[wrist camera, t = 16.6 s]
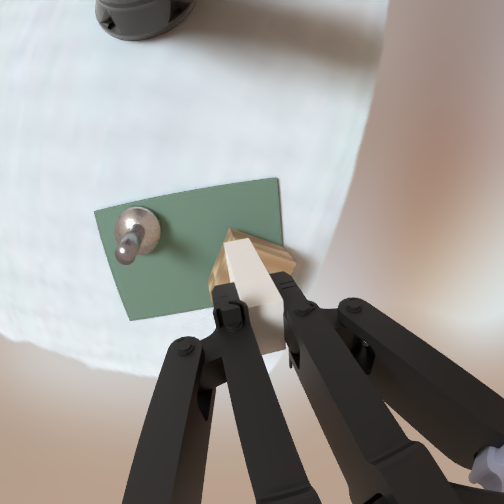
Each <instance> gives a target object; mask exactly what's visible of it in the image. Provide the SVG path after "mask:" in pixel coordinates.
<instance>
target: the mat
mask: <svg viewBox="0 0 504 504" xmlns="http://www.w3.org/2000/svg"><path fill="white" fill-rule="evenodd" d="M135 205H141V206H146V207H148V208H150V209H152V210H153V211H154V212H155V213H156V214H157V216H158V217H159V219H160V222H161V235H160V239H159V242H158V244H157V245H156V247H155V248H154V249H153V250H152V251H150V252H149V253H147V254H144V255H137V256H136V258H135V260H134V262H133V263H132V264H130V265H123V264H120V263H119V262H118V261H117V260H116V258H115V250H116V248H117V247H118V244H117V242H116V240H115V237H114V225H115V222H116V220H117V218H118V217H119V216H120V215H121V213H122V212H123V211H124V210H126V209H127V208H129V207H131V206H135ZM94 214H95V218H96V222H97V225H98V229H99V233H100V236H101V240H102V243H103V247H104V250H105V253H106V256H107V260H108V263H109V266H110V269H111V272H112V275H113V278H114V280H115V283H116V286H117V289H118V292H119V294H120V297H121V300H122V302H123V305H124V307H125V310H126V312H127V315H128V317H129V320H130V321H133V320H139V319H146V318H152V317H158V316H164V315H170V314H176V313H182V312H188V311H193V310H199V309H204V308H210V307H214V305H213V302H211V299H210V292H209V286H208V279H209V276H210V274H211V271H212V269H213V266H214V264H215V261H216V259H217V257H218V254H219V252H220V249H221V247H222V244H223V242H224V240H225V237H226V235H227V232H228V230H229V228H232V229H234V230H237V231H240V232H243V233H246V234H249V235H252V236H255V237H257V238H260V239H263V240H266V241H268V242H271V243H274V244H277V245H280V246H282V237H281V223H280V209H279V196H278V184H277V178H268V179H260V180H253V181H246V182H239V183H232V184H226V185H219V186H213V187H207V188H201V189H195V190H190V191H184V192H179V193H174V194H169V195H164V196H159V197H154V198H149V199H144V200H140V201H135V202H131V203H126V204H122V205H118V206H113V207H109V208H105V209H101V210H97V211H94Z"/></svg>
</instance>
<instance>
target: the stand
mask: <svg viewBox="0 0 504 504" xmlns="http://www.w3.org/2000/svg"><path fill="white" fill-rule="evenodd" d="M160 235H161V222H160V219H159V217H158V216H157V214H156V213H155V212H154V211H153V210H152V209H150V208H148V207H146V206H141V205H135V206H131V207H129V208H127V209H126V210H124V211H123V212H122V213H121V215H120V216H119V217H118V218H117V220H116V222H115V225H114V237H115V240H116V242H117V244H118V247H117V248H116V250H115V258H116V260H117V261H118V262H119V263H120V264H123V265H130V264H132V263H133V262H134V260H135V258H136V256H137V255H144V254H147V253H149V252H150V251H152V250H153V249H154V248H155V247H156V245H157V244H158V242H159V239H160Z"/></svg>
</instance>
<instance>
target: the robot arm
mask: <svg viewBox="0 0 504 504" xmlns="http://www.w3.org/2000/svg"><path fill="white" fill-rule="evenodd" d="M194 3H195V0H96V6H95V13H96V18H97V20H98V22H99V24H100V25H101V27H102V28H103V29H104V30H105V31H106V32H107V33H108V34H109V35H111V36H113V37H115V38H118V39H122V40H143V39H148V38H152V37H155V36H158V35H161V34H163V33H165V32H167V31H169V30H171V29H172V28H174V27H175V26H177V25H178V24H179V23H181V22H182V21H183V20H184V19H185V18H186V17H187V16H188V14H189V13H190V11H191V10H192V8H193V6H194ZM224 248H225V254H226V260H227V266H228V272H229V277H230V283H226V284H221V285H216V286H214V288H213V290H212V292H211V293H212V299H213V305H214V309H213V315H214V320H215V324H216V329H215V331H214V332H213V333H212V334H211V335H210V336H208V337H207V338H205V339H202V340H199V339H197V338H195V337H190V336H187V337H181V338H179V339H177V340H175V341H174V342H173V343H171V345H170V346H169V348H168V351H167V354H166V357H165V360H164V363H163V365H162V368H161V371H160V374H159V377H158V381H157V383H156V386H155V390H154V393H153V396H152V399H151V402H150V405H149V408H148V412H147V415H146V418H145V421H144V425H143V428H142V431H141V435H140V438H139V442H138V445H137V448H136V452H135V456H134V460H133V463H132V466H131V470H130V474H129V478H128V481H127V485H126V489H125V493H124V497H123V501H122V504H201V499H202V491H203V483H204V475H205V467H206V460H207V451H208V444H209V436H210V429H211V422H212V415H213V407H214V400H215V393H216V387H217V386H219V385H221V384H223V383H225V382H227V384H228V388H229V393H230V398H231V402H232V407H233V411H234V416H235V420H236V424H237V429H238V433H239V437H240V441H241V445H242V449H243V453H244V457H245V461H246V465H247V469H248V473H249V477H250V480H251V484H252V487H253V491H254V495H255V499H256V504H322V503H321V501H320V499H319V497H318V494H317V493H316V491H315V490H314V489H313V487H312V486H311V484H310V483H309V481H308V478H307V476H306V473H305V471H304V468H303V465H302V463H301V460H300V458H299V455H298V453H297V450H296V447H295V445H294V442H293V439H292V437H291V434H290V432H289V429H288V426H287V424H286V421H285V418H284V416H283V413H282V410H281V408H280V405H279V402H278V399H277V397H276V394H275V391H274V389H273V386H272V383H271V380H270V377H269V375H268V372H267V369H266V366H265V363H264V361H263V358H262V355H264V354H268V353H272V352H276V351H280V350H284V349H286V343H287V345H288V347H289V366H290V368H292V364H293V366H294V368H295V371H296V373H297V375H298V377H299V379H300V381H301V384H302V386H303V388H304V390H305V393H306V395H307V397H308V399H309V401H310V403H311V406H312V408H313V410H314V412H315V415H316V417H317V419H318V421H319V423H320V426H321V428H322V430H323V432H324V434H325V436H326V439H327V441H328V443H329V445H330V447H331V449H332V451H333V454H334V456H335V458H336V460H337V462H338V464H339V467H340V468H341V471H342V473H343V475H344V477H345V479H346V482H347V484H348V487H349V495H350V499H351V501H352V504H504V398H502V397H501V396H500V395H498V394H497V393H496V392H494V391H493V390H492V389H490V388H489V387H488V386H486V385H485V384H483V383H482V382H480V381H479V380H478V379H477V378H475V377H474V376H472V375H471V374H470V373H468V372H467V371H466V370H464V369H463V368H461V367H460V366H458V365H457V364H456V363H454V362H453V361H452V360H450V359H449V358H447V357H446V356H445V355H443V354H442V353H440V352H439V351H437V350H436V349H435V348H433V347H432V346H430V345H429V344H427V343H426V342H425V341H423V340H422V339H420V338H419V337H417V336H416V335H414V334H413V333H412V332H410V331H409V330H407V329H406V328H404V327H403V326H401V325H400V324H399V323H397V322H396V321H394V320H393V319H391V318H390V317H388V316H387V315H385V314H384V313H382V312H381V311H379V310H378V309H376V308H375V307H373V306H372V305H371V304H369V303H367V302H366V301H364V300H362V299H359V298H347V299H344V300H342V301H341V302H340V303H339V305H338V308H337V309H322V308H319V306H318V305H317V304H316V303H314V302H312V301H308V300H307V299H306V297H305V296H304V294H303V293H302V291H301V290H300V289H299V287H298V286H297V284H296V283H295V282H294V280H293V278H292V277H291V275H289V274H288V273H286V272H284V271H281V272H276V273H271V274H269V273H268V272H267V270H266V268H265V266H264V264H263V263H262V261H261V259H260V257H259V255H258V254H257V252H256V250H255V248H254V246H253V245H252V243H251V241H250V239H249V238H246V239H240V240H235V241H230V242H224ZM285 341H286V343H285ZM364 341H365V342H366V343H365V342H364ZM384 402H386V403H387V404H388V405H389V406H390V407H391V408H392V409H393V410H394V411H396V412H397V413H398V414H399V415H400V416H401V417H402V418H403V419H405V420H406V421H407V422H408V423H409V424H410V425H411V426H412V427H413V428H415V429H416V430H417V431H418V432H419V433H420V434H421V435H423V436H424V437H425V438H426V439H427V440H428V441H429V442H430V443H432V444H433V445H434V446H435V447H436V448H438V449H439V450H440V451H441V452H442V453H443V454H444V455H445V456H447V457H448V458H449V459H451V460H452V461H453V462H455V463H457V464H458V465H460V466H462V467H464V468H467V469H470V470H472V471H471V473H470V474H469V481H470V482H471V483H473V484H475V483H478V484H480V485H481V486H482V487H483V488H484V489H479V488H474V487H469V486H464V485H460V484H456V483H452V482H448V481H447V479H446V477H445V476H444V474H443V472H442V471H441V469H440V468H439V466H438V465H437V463H436V461H435V460H434V458H433V457H432V455H431V454H430V452H429V451H428V449H427V448H426V447H425V446H424V445H423V444H422V443H420V442H418V441H411V440H409V439H408V438H407V436H406V435H405V433H404V432H403V430H402V429H401V427H400V426H399V424H398V422H397V421H396V419H395V418H394V416H393V415H392V413H391V412H390V410H389V409H388V407H387V406H386V404H385V403H384Z"/></svg>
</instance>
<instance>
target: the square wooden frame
mask: <svg viewBox="0 0 504 504" xmlns="http://www.w3.org/2000/svg"><path fill="white" fill-rule="evenodd" d="M246 238H249V239H250V241H251V243H252V245H253V246H254V248H255V250H256V252H257V254H258V255H259V257H260V259H261V261H262V263H263V264H264V266H265V268H266V270H267V272H268V273H269V274H271V273H276V272H281V271H284V272H286V273H288V274H289V275H291V274H292V272H293V270H294V268H295V266H296V264H297V263H296V261H295V260H294V259H293V258H292V257H291V255H290V254H289V253H288V252H287V251H286V249H285V248H284V247H282V246H280V245H277V244H274V243H271V242H268V241H266V240H263V239H260V238H257V237H254V236H252V235H249V234H246V233H243V232H240V231H237V230H234V229H232V228H229V230H228V232H227V235H226V237H225V240H224V242H230V241H235V240H240V239H246ZM224 242H223V244H222V247H221V249H220V252H219V254H218V257H217V259H216V261H215V264H214V266H213V269H212V271H211V274H210V276H209V279H208V286H209V292H210V299H211V302H213V299H212V293H211V292H212V290H213V288H214V286H216V285H221V284H226V283H230V277H229V272H228V266H227V260H226V254H225V248H224Z"/></svg>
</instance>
